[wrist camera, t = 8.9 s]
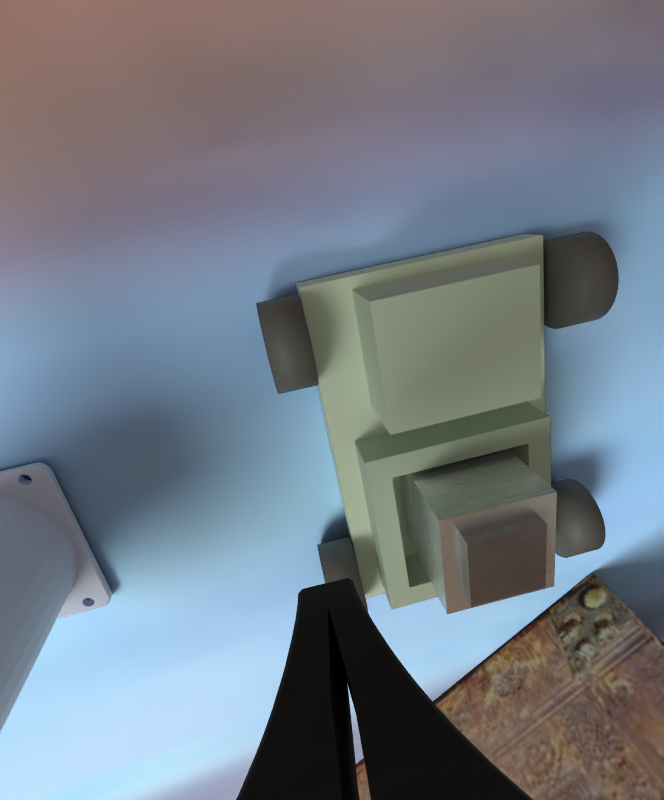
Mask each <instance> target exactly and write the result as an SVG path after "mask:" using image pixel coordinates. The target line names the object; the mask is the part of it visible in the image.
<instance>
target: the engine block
mask: <svg viewBox="0 0 664 800" xmlns="http://www.w3.org/2000/svg"><path fill="white" fill-rule="evenodd" d="M400 478H401V486H402V495H403V503H404V511H405V519H406V527H407V535H408V537H409V539H410V541H411V543H412V545H413V547H414V549H415V551H416V553H417V555H418V557H419V559H420V561H421V563H422V565H423V567H424V569H425V571H426V573H427V575H428V577H429V579H430V581H431V583H432V585H433V587H434V589H435V591H436V593H437V595H438V597H439V599H440V601H441V603H442V605H443V607H444V609H445V611H446V613H447V614H450V613H454V612H458V611H461V610H465V609H469V608H473V607H477V606H480V605H484V604H488V603H492V602H496V601H500V600H503V599H507V598H511V597H515V596H519V595H522V594H526V593H530V592H534V591H538V590H541V589H545V588H549V587H553V586H554V574H555V539H556V503H557V492H556V491H555V490H554V489H553V488H552V487H550V486H549V485H548V484H547V483H546V482H545V481H544V480H543V479H541V478H540V477H539V476H538V475H537V474H536V473H535V472H533V471H532V470H531V469H530V468H529V467H528V466H527V465H526V464H524V463H523V462H522V461H521V460H520V459H519V458H518V457H517V456H515V455H514V454H513V453H512V452H511V451H510V450H509V449H504V450H500V451H496V452H492V453H489V454H485V455H481V456H477V457H473V458H469V459H465V460H461V461H457V462H453V463H449V464H445V465H441V466H437V467H433V468H430V469H426V470H422V471H418V472H414V473H410V474H406V475H402V476H400Z"/></svg>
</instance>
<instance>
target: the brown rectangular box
mask: <svg viewBox="0 0 664 800" xmlns="http://www.w3.org/2000/svg"><path fill="white" fill-rule="evenodd" d="M433 703H434V704H435V705H436V706H437V707H438V709H439V710H440V711H441V712H442V713H443V714H444V715H445V716H446V717H447V718H448V719H449V720H450V722H451V723H452V724H453V725H454V726H455V727H456V728H457V729H458V730H459V731H460V732H461V733H462V734H463V735H464V736H465V737H466V738H467V739H468V740H469V741H470V742H471V743H472V744H473V745H474V746H475V747H476V748H477V749H478V750H479V751H480V752H481V753H482V754H483V755H484V756H485V757H486V758H487V759H488V760H489V761H490V762H491V763H493V764H494V765H495V766H496V767H497V768H498V769H499V770H500V771H501V772H503V773H504V774H505V775H506V776H507V777H508V778H509V779H510V780H511V781H512V782H514V783H515V784H516V785H517V786H518V787H519V788H520V789H522V790H523V791H524V792H525V793H526V794H527V795H529V796H530V797H531V798H532V799H533V800H664V643H663V642H662V641H661V640H660V639H659V638H658V637H657V636H656V635H655V634H654V633H653V632H652V631H651V630H650V629H649V628H648V627H647V626H646V625H645V624H644V623H643V622H642V621H641V620H640V619H639V618H638V617H637V616H636V615H635V614H634V613H633V612H632V611H631V610H630V608H629V607H628V606H627V605H626V604H625V603H624V602H623V601H622V600H621V599H620V598H619V597H618V596H617V595H616V594H615V593H614V592H613V591H612V590H611V589H610V588H609V587H608V586H607V585H606V584H605V583H604V582H603V581H602V580H601V579H600V578H599V577H598V576H596V575H593V574H591V575H590V576H588V577H587V578H586V579H585V580H583V581H582V582H581V583H580V584H578V585H577V586H576V587H575V588H574V589H572V590H571V591H570V592H569V593H567V594H566V595H565V596H564V597H562V598H561V599H560V600H559V601H557V602H556V603H555V604H554V605H552V606H551V607H550V608H549V609H548V610H546V611H545V612H544V613H543V614H541V615H540V616H539V617H538V618H536V619H535V620H534V621H533V622H531V623H530V624H529V625H528V626H526V627H525V628H524V629H523V630H522V631H520V632H519V633H518V634H517V635H515V636H514V637H513V638H512V639H510V640H509V641H508V642H507V643H505V644H504V645H503V646H502V647H501V648H499V649H498V650H497V651H496V652H494V653H493V654H492V655H491V656H489V657H488V658H487V659H486V660H484V661H483V662H482V663H481V664H479V665H478V666H477V667H476V668H475V669H473V670H472V671H471V672H470V673H468V674H467V675H466V676H465V677H463V678H462V679H461V680H460V681H458V682H457V683H456V684H455V685H454V686H452V687H451V688H450V689H449V690H447V691H446V692H445V693H444V694H442V695H441V696H440V697H439V698H437V699H436V700H435V701H434V702H433ZM356 773H357V783H358V790H359V798H360V800H371V797H370V791H369V785H368V779H367V773H366V767H365V762H364V758H363V759H362V760H361V761H359V762H358V763H357V764H356Z"/></svg>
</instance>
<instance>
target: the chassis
mask: <svg viewBox="0 0 664 800" xmlns="http://www.w3.org/2000/svg"><path fill="white" fill-rule="evenodd" d="M296 288H297V293H298V294H296V295H291V296H287V297H282V298H278V299H273V300H268V301H264V302H259V303H256V305H257V310H258V315H259V320H260V325H261V329H262V334H263V338H264V342H265V346H266V350H267V355H268V359H269V363H270V366H271V370H272V374H273V378H274V382H275V385H276V389H277V392H278V394H282V393H286V392H290V391H294V390H299V389H303V388H307V387H311V386H316V385H317V386H318V391H319V396H320V400H321V405H322V410H323V414H324V419H325V424H326V428H327V433H328V438H329V442H330V447H331V452H332V456H333V461H334V466H335V470H336V475H337V480H338V484H339V489H340V494H341V498H342V503H343V508H344V512H345V517H346V522H347V526H348V531H349V536H350V539H349V537H345V538H341V539H338V540H334V541H330V542H326V543H322V544H319V545H318V551H319V556H320V561H321V566H322V570H323V575H324V579H325V583H329V582H333V581H337V580H341V579H345V578H350V579H351V580H353V582H354V585H355V588H356V590H357V593H358V595H359V597H360V599H361V601H362V603H363V605H364V607H365V609H366V611H367V612H368V609H367V603H366V598H370V597H373V596H377V595H380V594H384V593H386V595H387V598H388V601H389V603H390V606H391V609H395V608H399V607H402V606H406V605H409V604H413V603H417V602H420V601H424V600H427V599H431V598H435V597H438V595H437V593H436V591H435V589H434V587H433V585H432V583H431V581H430V579H429V577H428V575H427V573H426V571H425V569H424V567H423V565H422V563H421V561H420V559H419V557H418V555H417V553H416V551H415V549H414V547H413V545H412V543H411V541H410V539H409V537H408V535H407V527H406V519H405V511H404V503H403V495H402V486H401V478H400V476H402V475H406V474H410V473H414V472H418V471H422V470H426V469H430V468H433V467H437V466H441V465H445V464H449V463H453V462H457V461H461V460H465V459H469V458H473V457H477V456H481V455H485V454H489V453H492V452H496V451H500V450H504V449H509V450H510V451H511V452H512V453H513V454H514V455H515V456H517V457H518V458H519V459H520V460H521V461H522V462H523V463H524V464H526V465H527V466H528V467H529V468H530V469H531V470H532V471H533V472H535V473H536V474H537V475H538V476H539V477H540V478H541V479H543V480H544V481H545V482H546V483H547V484H548V485H549V486H550V487H552V488H553V489H554V490H555V491H556V492H557V503H556V539H555V553H556V554H557V555H559V556H561V557H564V558H567V557H571V556H575V555H578V554H582V553H585V552H589V551H593V550H596V549H599V548H601V547H602V545H603V544H604V541H605V525H604V521H603V517H602V514H601V512H600V509H599V507H598V505H597V503H596V502H595V500H594V498H593V497H592V495H591V494H590V493H589V491H588V490H587V489H586V488H585V487H584V486H583V485H582V484H580V483H579V482H577V481H575V480H573V479H566V480H562V481H558V482H555V483H551V417H550V416H549V415H547V414H546V413H545V364H544V325H546V326H548V327H550V328H553V329H558V328H563V327H567V326H572V325H576V324H580V323H584V322H589V321H593V320H597V319H599V318H601V317H603V316H604V315H605V314H606V313H607V312H608V311H609V310H610V308H611V307H612V305H613V303H614V301H615V298H616V295H617V290H618V268H617V263H616V259H615V256H614V254H613V252H612V250H611V248H610V246H609V245H608V243H607V242H606V241H605V240H604V239H603V238H602V237H601V236H599V235H597V234H596V233H593V232H581V233H576V234H572V235H567V236H562V237H558V238H553V239H549V240H545V241H543V235H535V234H521V235H516V236H511V237H507V238H502V239H497V240H493V241H488V242H483V243H479V244H474V245H470V246H465V247H460V248H456V249H451V250H446V251H442V252H437V253H432V254H428V255H423V256H419V257H414V258H409V259H405V260H400V261H395V262H391V263H386V264H381V265H377V266H372V267H368V268H363V269H358V270H354V271H349V272H344V273H340V274H335V275H330V276H326V277H321V278H317V279H312V280H307V281H303V282H298V283H296ZM350 540H351V541H350Z"/></svg>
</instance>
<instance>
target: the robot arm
mask: <svg viewBox="0 0 664 800" xmlns="http://www.w3.org/2000/svg"><path fill="white" fill-rule="evenodd" d="M22 474H26V475H28V476H29V477H30V478H31V480H26V479H24V478H23V477H22ZM111 596H112V592H111V590H110V588H109V586H108V584H107V581H106V579H105V577H104V575H103V573H102V571H101V569H100V567H99V565H98V563H97V561H96V559H95V557H94V555H93V553H92V551H91V549H90V547H89V545H88V543H87V541H86V539H85V537H84V534H83V532H82V530H81V528H80V526H79V524H78V522H77V520H76V518H75V516H74V514H73V512H72V510H71V508H70V506H69V504H68V502H67V500H66V498H65V496H64V494H63V492H62V490H61V487H60V485H59V483H58V481H57V479H56V477H55V475H54V473H53V471H52V469H51V468H50V467H49V466H48V465H46V464H44V463H33V464H28V465H24V466H20V467H16V468H11V469H7V470H3V471H0V732H1V730H2V728H3V726H4V724H5V722H6V720H7V718H8V716H9V714H10V712H11V710H12V708H13V706H14V704H15V702H16V700H17V698H18V696H19V694H20V692H21V690H22V688H23V685H24V683H25V681H26V679H27V677H28V675H29V673H30V671H31V669H32V667H33V665H34V663H35V661H36V659H37V657H38V655H39V653H40V651H41V649H42V647H43V645H44V643H45V641H46V639H47V637H48V635H49V633H50V631H51V629H52V627H53V625H54V623H55V621H56V619H57V618H61V617H65V616H68V615H72V614H76V613H80V612H83V611H87V610H91V609H95V608H99V607H102V606H105V605H107V604H108V603H109V602H110V599H111ZM86 598H91V599H93V600H88V599H86ZM347 683H348V685H347ZM348 687H349V690H350V694H351V697H352V701H353V705H354V708H355V712H356V716H357V721H358V727H359V733H360V738H361V744H362V750H363V756H364V762H365V767H366V773H367V779H368V785H369V791H370V797H371V800H533V799H532V798H531V797H530V796H529V795H527V794H526V793H525V792H524V791H523V790H522V789H520V788H519V787H518V786H517V785H516V784H515V783H514V782H512V781H511V780H510V779H509V778H508V777H507V776H506V775H505V774H504V773H503V772H501V771H500V770H499V769H498V768H497V767H496V766H495V765H494V764H493V763H491V762H490V761H489V760H488V759H487V758H486V757H485V756H484V755H483V754H482V753H481V752H480V751H479V750H478V749H477V748H476V747H475V746H474V745H473V744H472V743H471V742H470V741H469V740H468V739H467V738H466V737H465V736H464V735H463V734H462V733H461V732H460V731H459V730H458V729H457V728H456V727H455V726H454V725H453V724H452V723H451V722H450V720H449V719H448V718H447V717H446V716H445V715H444V714H443V713H442V712H441V711H440V710H439V709H438V707H437V706H436V705H435V704H434V703H433V702H432V701H431V699H430V698H429V697H428V696H427V695H426V694H425V692H424V691H423V690H422V689H421V688H420V686H419V685H418V684H417V683H416V682H415V680H414V679H413V678H412V677H411V675H410V674H409V673H408V671H407V670H406V669H405V667H404V666H403V665H402V663H401V662H400V661H399V660H398V658H397V657H396V655H395V654H394V653H393V651H392V650H391V648H390V647H389V646H388V644H387V643H386V641H385V640H384V638H383V637H382V635H381V633H380V632H379V630H378V629H377V627H376V626H375V624H374V623H373V621H372V619H371V618H370V616H369V614H368V612H367V611H366V609H365V607H364V605H363V603H362V601H361V599H360V597H359V595H358V593H357V590H356V588H355V585H354V582H353V580H351V579H350V578H345V579H341V580H337V581H333V582H329V583H325V584H321V585H317V586H313V587H309V588H305V589H302V590H301V591H300V592H299V594H298V605H297V613H296V620H295V625H294V630H293V635H292V640H291V644H290V648H289V653H288V657H287V661H286V665H285V669H284V673H283V676H282V679H281V683H280V686H279V689H278V693H277V696H276V699H275V702H274V706H273V709H272V712H271V715H270V718H269V720H268V723H267V726H266V729H265V732H264V734H263V737H262V740H261V742H260V745H259V747H258V750H257V753H256V755H255V757H254V760H253V762H252V765H251V767H250V769H249V772H248V774H247V776H246V779H245V781H244V783H243V786H242V788H241V790H240V793H239V795H238V797H237V799H236V800H360V798H359V790H358V783H357V773H356V763H355V753H354V743H353V734H352V724H351V714H350V704H349V694H348Z"/></svg>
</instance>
